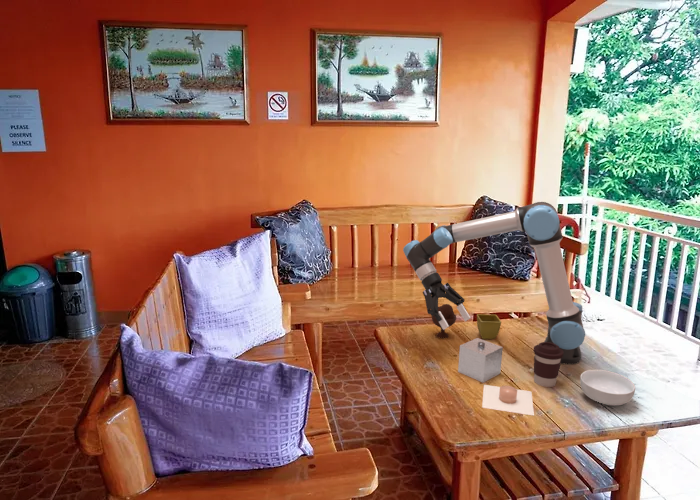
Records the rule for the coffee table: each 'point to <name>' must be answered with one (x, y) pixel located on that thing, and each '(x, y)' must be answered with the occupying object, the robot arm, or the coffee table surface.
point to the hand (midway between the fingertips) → (457, 323)
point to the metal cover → (480, 359)
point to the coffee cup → (547, 363)
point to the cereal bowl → (607, 387)
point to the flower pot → (488, 325)
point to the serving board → (520, 406)
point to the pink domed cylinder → (508, 394)
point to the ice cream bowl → (448, 316)
